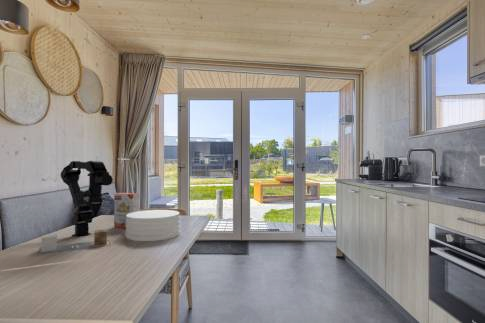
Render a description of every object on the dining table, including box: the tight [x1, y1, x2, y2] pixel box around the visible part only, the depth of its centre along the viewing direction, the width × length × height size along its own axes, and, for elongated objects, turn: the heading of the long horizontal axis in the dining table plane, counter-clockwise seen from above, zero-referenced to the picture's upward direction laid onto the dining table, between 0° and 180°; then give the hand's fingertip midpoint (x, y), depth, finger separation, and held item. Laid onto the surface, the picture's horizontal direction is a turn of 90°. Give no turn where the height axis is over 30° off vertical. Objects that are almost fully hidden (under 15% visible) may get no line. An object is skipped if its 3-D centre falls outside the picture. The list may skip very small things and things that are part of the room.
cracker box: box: [113, 192, 140, 229], centre depth 168 cm, size 14×6×21 cm, turn 73°
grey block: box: [40, 233, 58, 252], centre depth 120 cm, size 5×5×6 cm
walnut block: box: [93, 228, 108, 246], centre depth 129 cm, size 5×5×6 cm
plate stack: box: [125, 209, 181, 242], centre depth 151 cm, size 28×28×12 cm
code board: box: [35, 239, 111, 256], centre depth 124 cm, size 28×12×1 cm, turn 119°
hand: (95, 214), depth 142 cm, fingers open, 9 cm apart
